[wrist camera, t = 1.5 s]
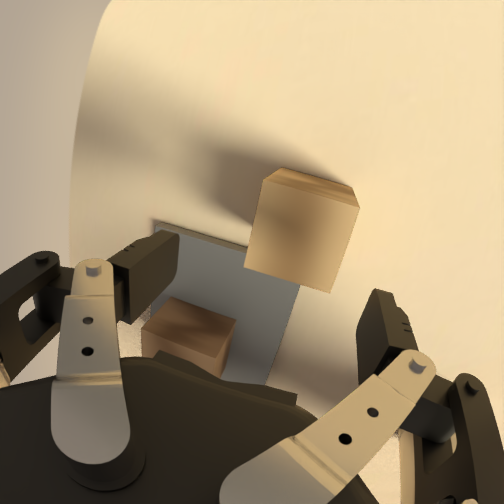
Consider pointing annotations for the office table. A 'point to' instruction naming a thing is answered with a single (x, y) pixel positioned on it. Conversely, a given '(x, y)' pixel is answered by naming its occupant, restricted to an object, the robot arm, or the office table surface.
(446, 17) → the office table surface
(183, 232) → the plate
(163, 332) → the walnut block
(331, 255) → the oak block
